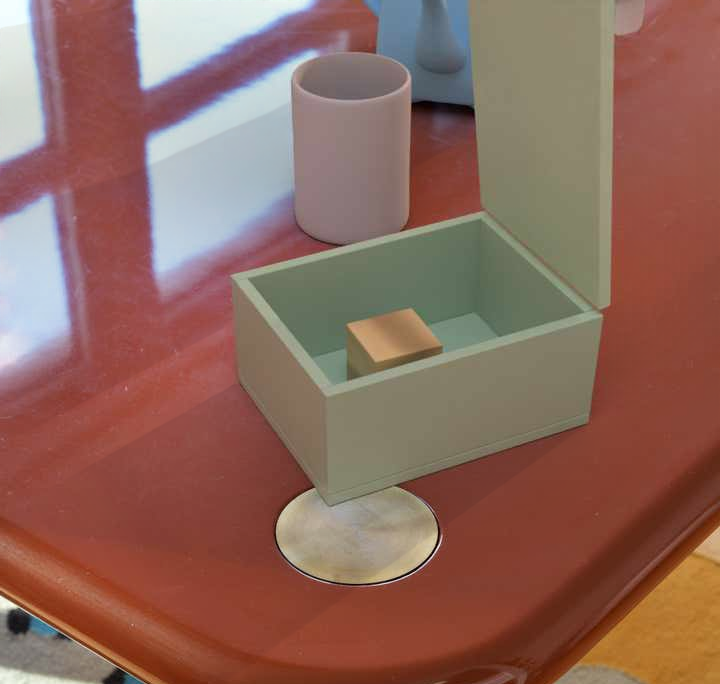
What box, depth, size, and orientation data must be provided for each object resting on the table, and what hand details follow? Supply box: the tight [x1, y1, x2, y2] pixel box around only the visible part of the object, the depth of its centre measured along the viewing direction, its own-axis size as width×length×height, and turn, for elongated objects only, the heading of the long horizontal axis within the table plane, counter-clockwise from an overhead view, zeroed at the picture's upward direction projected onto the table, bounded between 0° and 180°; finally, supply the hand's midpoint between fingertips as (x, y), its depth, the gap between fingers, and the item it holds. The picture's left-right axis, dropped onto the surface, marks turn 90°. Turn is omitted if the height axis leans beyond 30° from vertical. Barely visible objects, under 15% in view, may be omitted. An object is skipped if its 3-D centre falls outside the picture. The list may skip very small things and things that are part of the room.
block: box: [346, 308, 443, 381], centre depth 83 cm, size 4×4×4 cm
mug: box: [290, 51, 412, 246], centre depth 99 cm, size 12×8×11 cm
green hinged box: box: [230, 210, 604, 507], centre depth 82 cm, size 18×14×8 cm
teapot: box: [361, 0, 475, 110], centre depth 114 cm, size 18×16×14 cm
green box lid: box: [468, 0, 615, 311], centre depth 76 cm, size 18×14×5 cm
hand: (580, 5), depth 72 cm, fingers closed on green box lid, 6 cm apart
